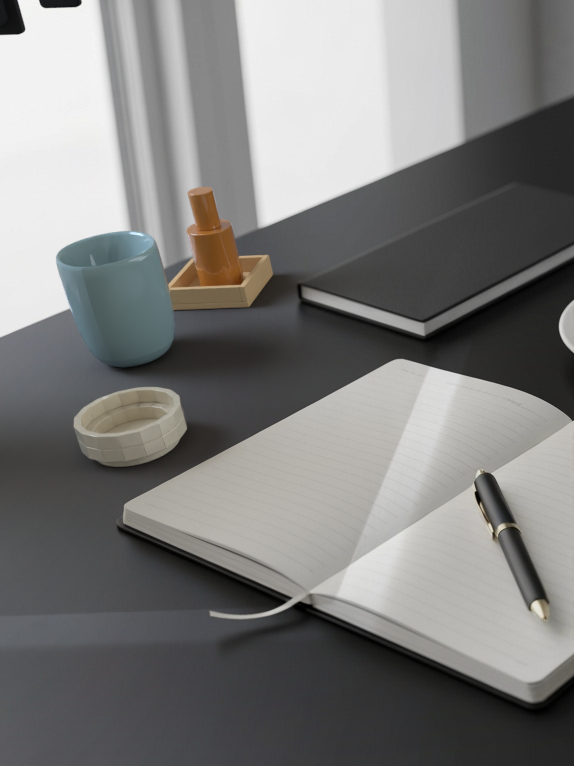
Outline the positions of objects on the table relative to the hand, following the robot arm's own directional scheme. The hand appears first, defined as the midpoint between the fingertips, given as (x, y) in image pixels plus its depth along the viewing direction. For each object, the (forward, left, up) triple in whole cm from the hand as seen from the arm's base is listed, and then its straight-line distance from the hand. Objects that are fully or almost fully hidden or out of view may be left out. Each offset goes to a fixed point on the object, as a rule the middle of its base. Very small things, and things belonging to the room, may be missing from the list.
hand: (34, 19), depth 99 cm
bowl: (+8, -19, -28) cm, 35 cm away
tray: (+5, +9, -28) cm, 30 cm away
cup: (+2, -4, -28) cm, 28 cm away
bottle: (+6, +9, -27) cm, 29 cm away
